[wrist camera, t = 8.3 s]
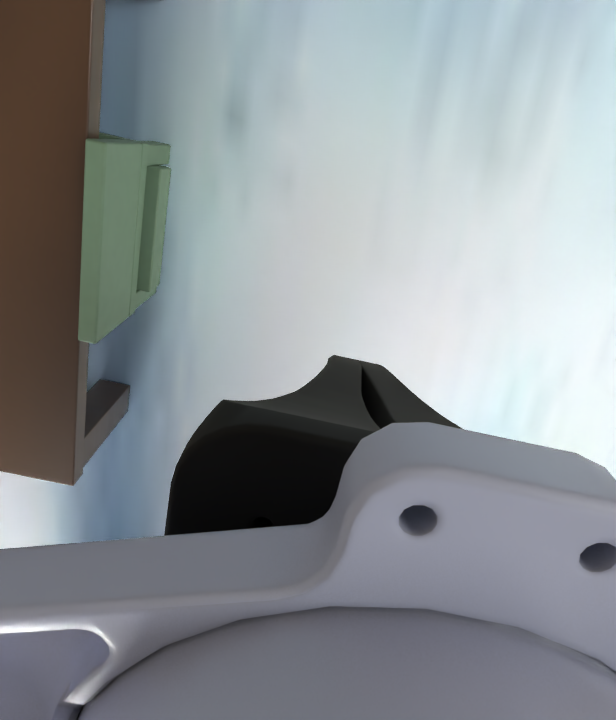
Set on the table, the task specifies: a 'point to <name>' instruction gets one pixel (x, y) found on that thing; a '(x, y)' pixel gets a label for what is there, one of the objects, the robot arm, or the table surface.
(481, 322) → the table surface
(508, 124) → the table surface
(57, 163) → the desk
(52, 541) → the table surface
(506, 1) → the table surface
